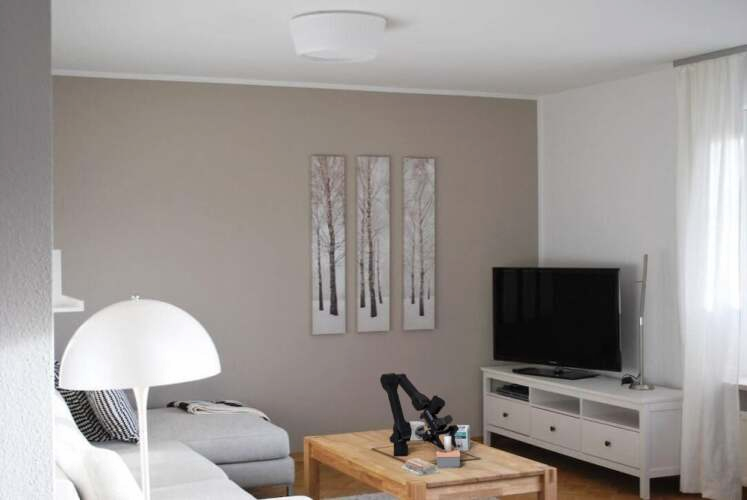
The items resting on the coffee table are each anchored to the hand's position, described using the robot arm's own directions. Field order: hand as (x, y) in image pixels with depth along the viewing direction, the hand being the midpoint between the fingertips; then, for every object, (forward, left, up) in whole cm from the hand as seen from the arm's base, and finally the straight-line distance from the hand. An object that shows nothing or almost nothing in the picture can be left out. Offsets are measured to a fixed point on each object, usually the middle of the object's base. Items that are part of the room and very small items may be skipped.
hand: (450, 448), depth 443 cm
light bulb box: (+7, +38, -8) cm, 39 cm away
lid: (-1, +1, -4) cm, 4 cm away
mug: (-17, +63, -8) cm, 65 cm away
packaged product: (-14, -8, -9) cm, 18 cm away
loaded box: (-1, +1, -8) cm, 8 cm away
